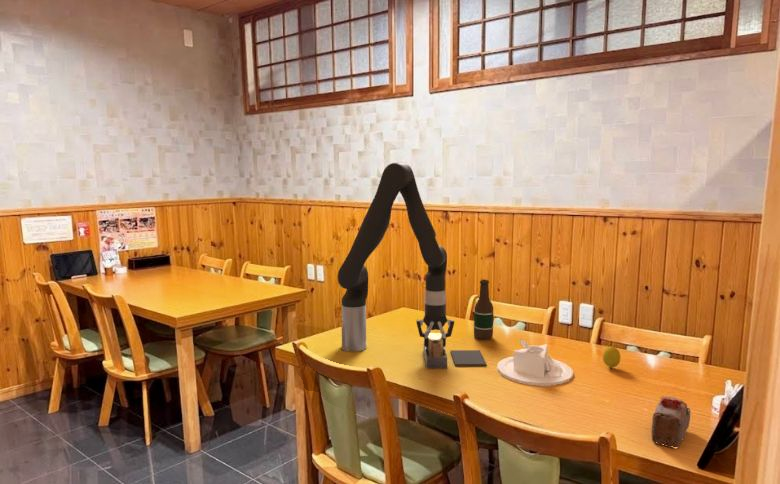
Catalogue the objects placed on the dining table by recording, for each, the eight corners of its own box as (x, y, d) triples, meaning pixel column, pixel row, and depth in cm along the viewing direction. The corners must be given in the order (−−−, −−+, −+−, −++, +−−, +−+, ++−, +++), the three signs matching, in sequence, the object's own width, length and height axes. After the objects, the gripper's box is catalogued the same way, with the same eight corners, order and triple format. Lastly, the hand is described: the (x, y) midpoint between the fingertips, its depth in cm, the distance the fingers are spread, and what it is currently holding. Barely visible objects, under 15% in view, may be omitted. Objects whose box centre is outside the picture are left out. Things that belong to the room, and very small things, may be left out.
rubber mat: (455, 366, 182) (455, 364, 182) (450, 352, 196) (450, 350, 196) (486, 366, 182) (486, 363, 182) (479, 352, 196) (479, 350, 196)
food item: (656, 421, 142) (658, 387, 141) (690, 429, 138) (692, 394, 136) (648, 443, 131) (651, 406, 130) (685, 452, 126) (688, 414, 125)
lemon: (619, 366, 181) (621, 344, 180) (619, 372, 176) (620, 349, 175) (602, 364, 183) (603, 342, 182) (601, 369, 178) (603, 347, 177)
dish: (552, 393, 161) (554, 358, 159) (483, 372, 177) (483, 340, 176) (584, 371, 178) (586, 339, 177) (519, 353, 195) (519, 324, 194)
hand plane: (447, 368, 180) (447, 346, 179) (426, 368, 180) (427, 346, 179) (441, 350, 198) (442, 330, 197) (423, 350, 198) (423, 330, 197)
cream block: (428, 352, 185) (428, 340, 184) (427, 344, 193) (427, 333, 192) (442, 352, 185) (443, 340, 184) (440, 344, 193) (440, 333, 192)
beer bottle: (494, 340, 210) (495, 282, 206) (475, 340, 210) (476, 282, 206) (491, 334, 217) (492, 278, 214) (472, 334, 217) (473, 278, 214)
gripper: (415, 304, 183) (415, 351, 185) (456, 304, 183) (456, 351, 185) (414, 299, 190) (414, 344, 192) (454, 299, 190) (453, 344, 192)
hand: (434, 347), depth 189 cm, fingers closed on cream block, 5 cm apart
